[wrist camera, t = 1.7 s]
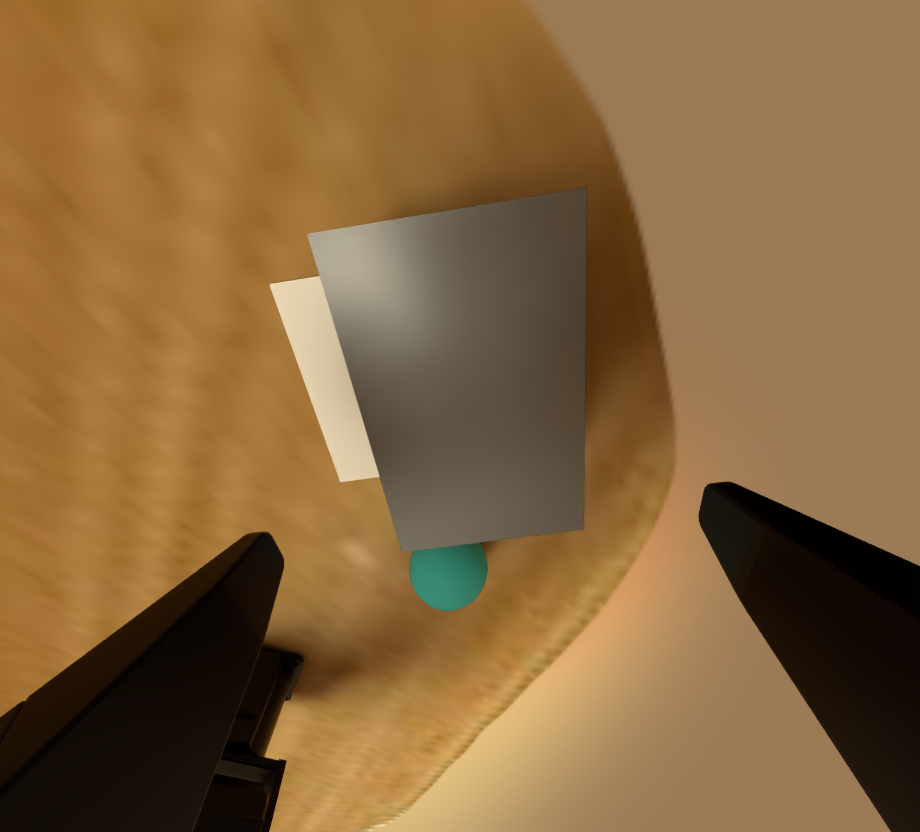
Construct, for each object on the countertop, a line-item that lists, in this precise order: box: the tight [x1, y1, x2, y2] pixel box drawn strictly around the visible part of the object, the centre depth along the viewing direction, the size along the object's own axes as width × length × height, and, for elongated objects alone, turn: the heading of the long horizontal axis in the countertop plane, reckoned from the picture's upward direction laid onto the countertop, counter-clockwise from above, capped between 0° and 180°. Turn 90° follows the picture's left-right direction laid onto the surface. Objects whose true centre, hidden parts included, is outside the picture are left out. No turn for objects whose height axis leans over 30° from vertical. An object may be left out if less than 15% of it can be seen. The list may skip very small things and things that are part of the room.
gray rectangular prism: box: [307, 187, 587, 552], centre depth 16 cm, size 12×8×8 cm, turn 8°
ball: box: [409, 543, 488, 611], centre depth 23 cm, size 5×5×5 cm
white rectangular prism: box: [269, 276, 380, 482], centre depth 20 cm, size 12×12×1 cm
